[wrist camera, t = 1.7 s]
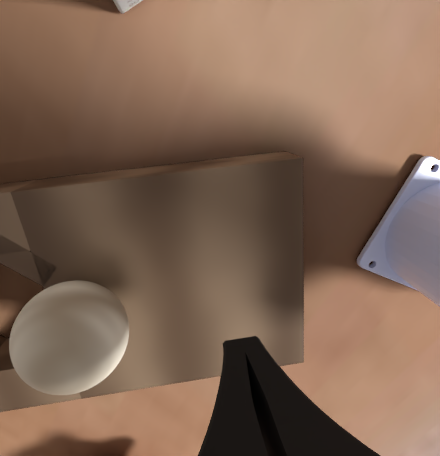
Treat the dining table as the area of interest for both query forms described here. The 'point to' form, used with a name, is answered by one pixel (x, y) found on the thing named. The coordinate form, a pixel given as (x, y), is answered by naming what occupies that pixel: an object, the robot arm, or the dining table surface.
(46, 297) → the off-white ball
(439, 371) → the dining table surface
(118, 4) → the supplement box
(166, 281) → the walnut board
